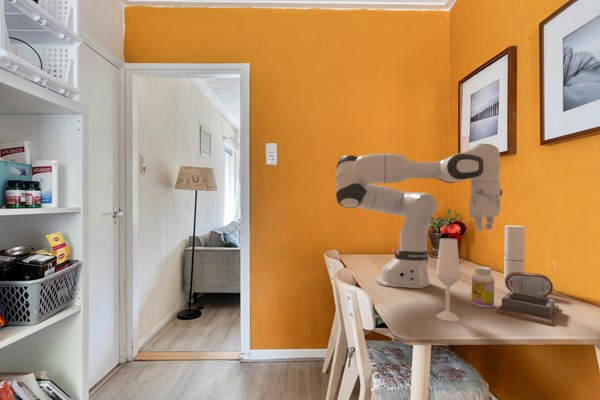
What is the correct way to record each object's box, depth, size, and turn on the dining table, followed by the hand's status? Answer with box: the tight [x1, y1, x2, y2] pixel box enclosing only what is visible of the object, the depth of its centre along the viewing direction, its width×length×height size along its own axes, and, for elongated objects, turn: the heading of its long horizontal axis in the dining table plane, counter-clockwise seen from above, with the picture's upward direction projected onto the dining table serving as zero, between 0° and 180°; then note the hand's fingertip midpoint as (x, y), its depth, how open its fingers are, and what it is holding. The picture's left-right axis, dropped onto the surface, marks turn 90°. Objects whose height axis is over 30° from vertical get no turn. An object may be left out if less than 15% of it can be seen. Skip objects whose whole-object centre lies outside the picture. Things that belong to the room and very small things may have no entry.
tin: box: [504, 271, 554, 297], centre depth 122 cm, size 15×3×8 cm, turn 65°
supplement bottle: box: [471, 266, 495, 309], centre depth 110 cm, size 7×7×13 cm
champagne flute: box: [435, 237, 461, 322], centre depth 99 cm, size 7×7×24 cm
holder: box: [495, 290, 560, 326], centre depth 105 cm, size 20×14×4 cm
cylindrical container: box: [503, 224, 526, 285], centre depth 137 cm, size 7×7×25 cm
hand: (484, 229), depth 113 cm, fingers open, 8 cm apart
